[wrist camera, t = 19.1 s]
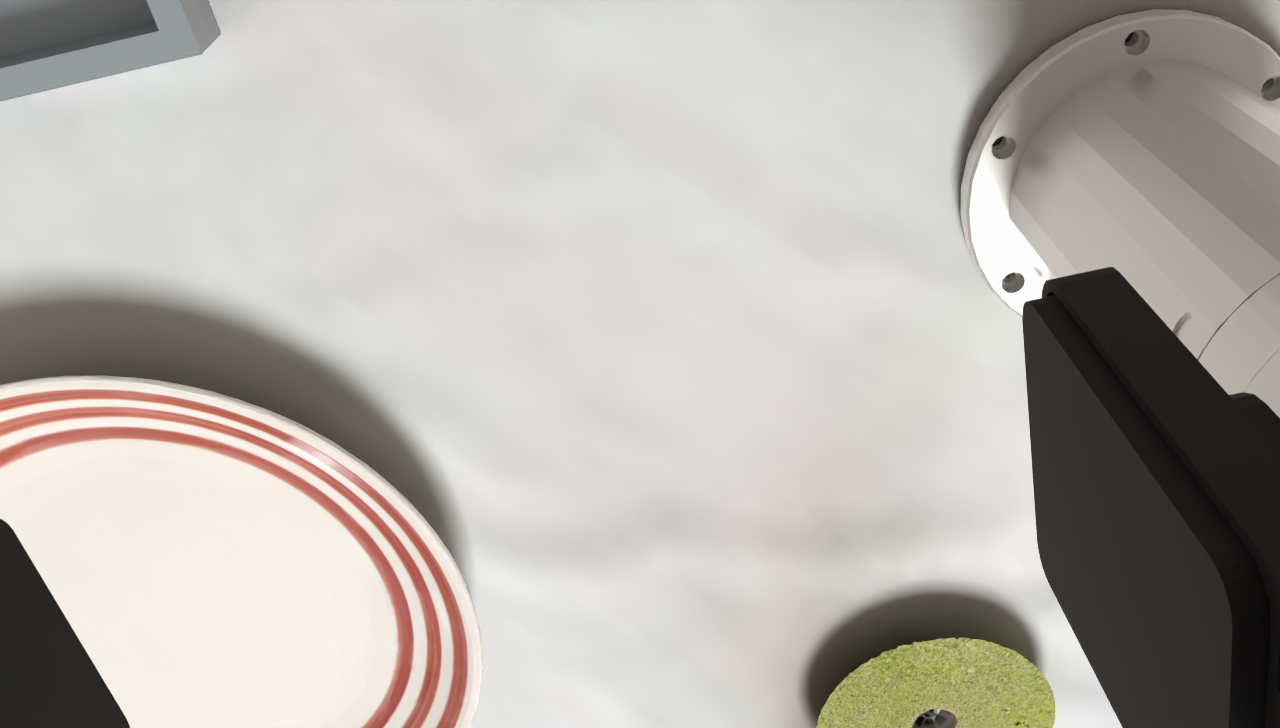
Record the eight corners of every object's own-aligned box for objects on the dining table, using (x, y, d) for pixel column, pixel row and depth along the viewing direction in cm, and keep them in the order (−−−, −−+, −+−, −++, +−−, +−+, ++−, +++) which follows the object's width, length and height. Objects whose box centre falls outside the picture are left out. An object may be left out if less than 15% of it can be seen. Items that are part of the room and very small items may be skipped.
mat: (1044, 761, 61) (1057, 792, 60) (821, 797, 62) (828, 829, 60) (1040, 591, 56) (1054, 620, 54) (795, 632, 56) (802, 662, 55)
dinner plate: (161, 889, 63) (141, 947, 61) (-298, 541, 51) (-350, 593, 48) (605, 667, 57) (606, 720, 54) (200, 210, 45) (174, 247, 42)
